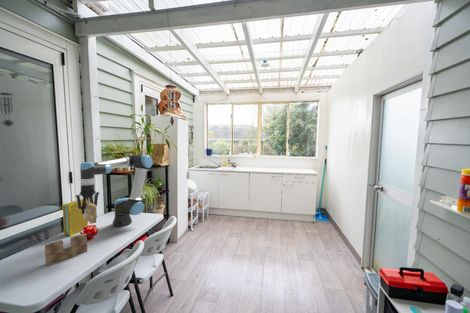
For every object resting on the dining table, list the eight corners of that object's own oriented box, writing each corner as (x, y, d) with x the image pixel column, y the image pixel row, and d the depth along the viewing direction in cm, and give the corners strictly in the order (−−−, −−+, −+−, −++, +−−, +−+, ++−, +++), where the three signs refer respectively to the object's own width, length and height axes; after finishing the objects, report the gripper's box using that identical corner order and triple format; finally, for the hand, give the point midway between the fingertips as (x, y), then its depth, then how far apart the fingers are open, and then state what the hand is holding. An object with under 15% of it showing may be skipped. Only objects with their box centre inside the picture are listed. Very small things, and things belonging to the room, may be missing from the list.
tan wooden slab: (89, 218, 140) (88, 201, 139) (96, 222, 132) (96, 205, 131) (84, 219, 137) (83, 202, 137) (90, 223, 129) (90, 206, 129)
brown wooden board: (85, 250, 133) (85, 233, 133) (87, 251, 132) (86, 234, 131) (45, 264, 118) (44, 244, 117) (46, 266, 116) (45, 246, 115)
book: (70, 236, 152) (69, 205, 151) (63, 235, 154) (62, 204, 152) (90, 227, 169) (89, 199, 167) (84, 226, 170) (83, 198, 169)
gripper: (98, 182, 144) (99, 213, 145) (71, 185, 131) (71, 219, 132) (102, 183, 140) (103, 215, 141) (74, 186, 127) (75, 222, 128)
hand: (88, 217), depth 137 cm, fingers closed on tan wooden slab, 3 cm apart
